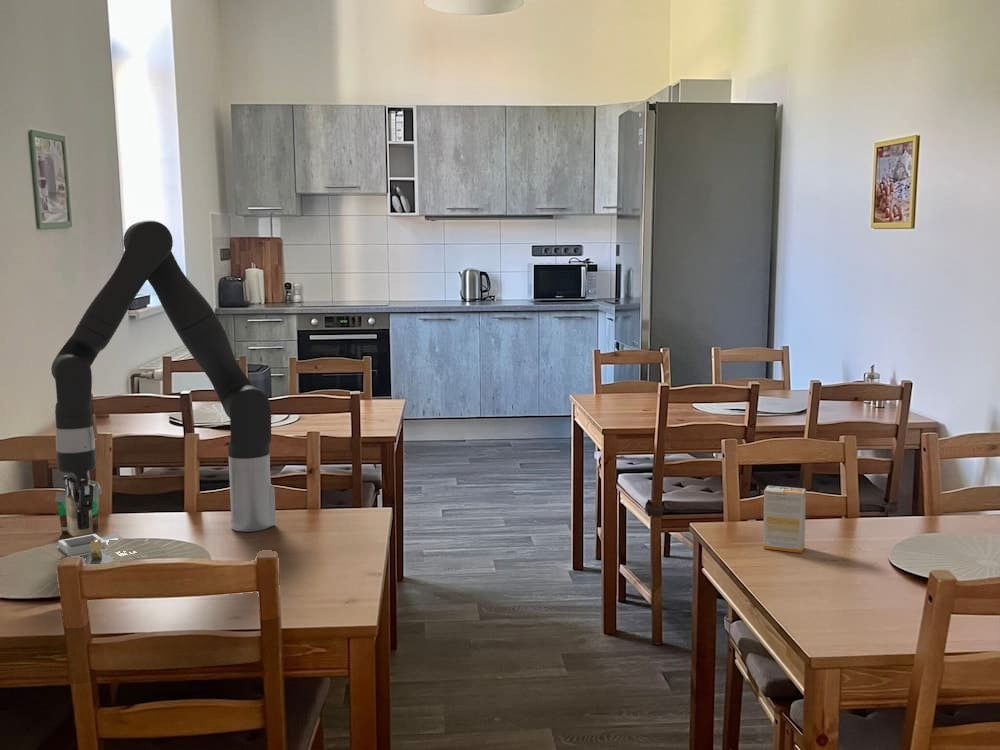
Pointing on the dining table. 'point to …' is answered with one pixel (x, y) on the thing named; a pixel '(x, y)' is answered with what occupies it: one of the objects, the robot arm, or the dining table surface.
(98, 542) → the pin
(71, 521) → the square pin
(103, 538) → the board
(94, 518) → the food container
